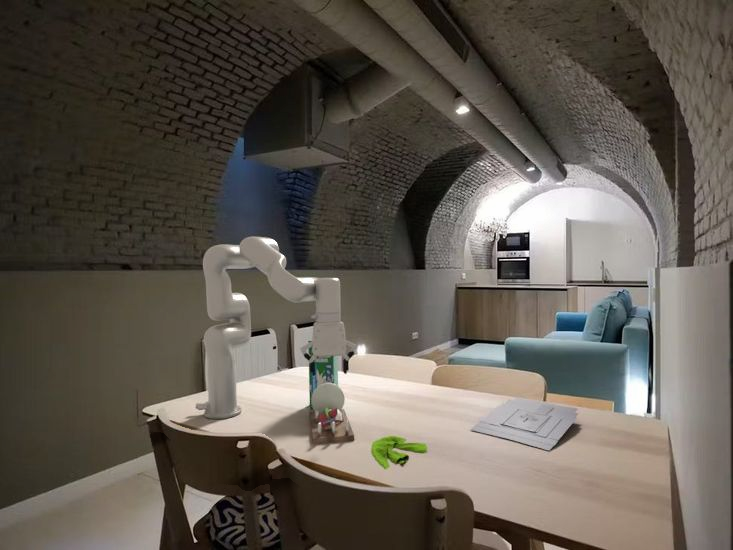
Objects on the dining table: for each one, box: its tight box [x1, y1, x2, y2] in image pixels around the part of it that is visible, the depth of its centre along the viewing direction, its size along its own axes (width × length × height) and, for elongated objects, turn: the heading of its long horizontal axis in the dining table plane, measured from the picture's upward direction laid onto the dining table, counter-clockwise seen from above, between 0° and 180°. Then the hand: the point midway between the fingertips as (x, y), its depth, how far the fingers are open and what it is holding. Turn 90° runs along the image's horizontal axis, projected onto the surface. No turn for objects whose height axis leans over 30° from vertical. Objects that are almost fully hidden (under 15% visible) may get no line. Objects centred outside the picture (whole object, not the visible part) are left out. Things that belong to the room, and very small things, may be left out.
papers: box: [470, 396, 579, 451], centre depth 136 cm, size 24×30×4 cm
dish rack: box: [308, 410, 355, 445], centre depth 139 cm, size 12×25×2 cm, turn 10°
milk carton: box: [307, 340, 339, 411], centre depth 160 cm, size 9×9×25 cm
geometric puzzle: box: [318, 407, 343, 430], centre depth 133 cm, size 7×7×8 cm
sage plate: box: [311, 383, 345, 415], centre depth 144 cm, size 11×1×11 cm, turn 100°
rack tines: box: [313, 408, 349, 437], centre depth 139 cm, size 9×24×4 cm, turn 10°
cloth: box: [370, 435, 428, 469], centre depth 118 cm, size 20×22×2 cm
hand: (329, 373), depth 133 cm, fingers open, 9 cm apart
